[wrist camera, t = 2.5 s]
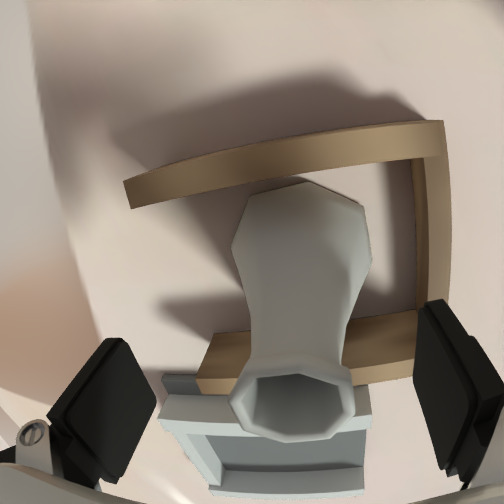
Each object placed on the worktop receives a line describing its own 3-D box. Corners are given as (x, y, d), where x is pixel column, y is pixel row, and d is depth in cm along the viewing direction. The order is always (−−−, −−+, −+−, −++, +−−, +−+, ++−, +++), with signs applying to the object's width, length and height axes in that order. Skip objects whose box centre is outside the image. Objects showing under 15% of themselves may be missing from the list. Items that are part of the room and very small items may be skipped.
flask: (233, 175, 15) (127, 261, 6) (382, 188, 14) (483, 294, 5) (231, 304, 18) (170, 454, 9) (358, 316, 17) (383, 476, 8)
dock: (366, 362, 18) (372, 398, 15) (361, 474, 24) (362, 500, 21) (164, 374, 21) (148, 404, 19) (224, 477, 27) (217, 501, 24)
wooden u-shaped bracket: (427, 119, 12) (464, 121, 9) (432, 322, 16) (454, 366, 13) (163, 165, 15) (122, 181, 12) (219, 348, 19) (201, 394, 16)
